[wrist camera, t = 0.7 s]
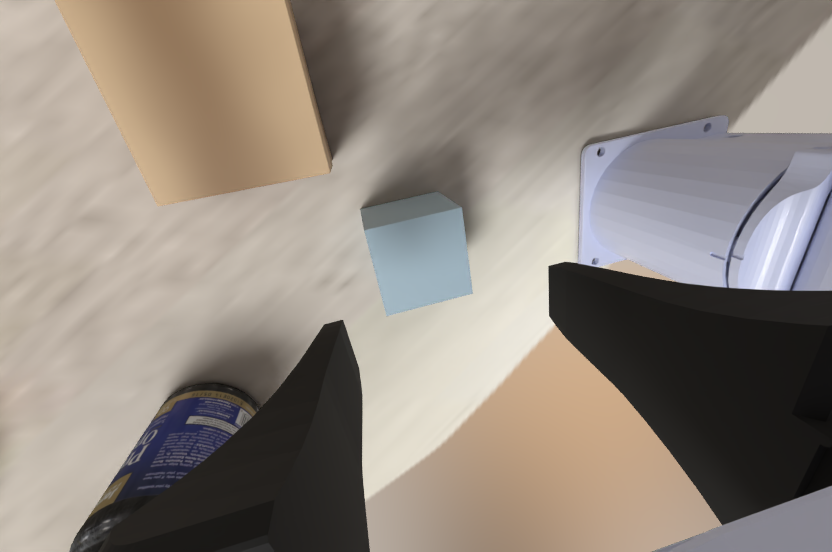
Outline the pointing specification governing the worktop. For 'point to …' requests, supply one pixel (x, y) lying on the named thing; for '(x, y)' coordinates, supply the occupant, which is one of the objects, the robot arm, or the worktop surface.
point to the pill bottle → (167, 454)
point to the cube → (418, 251)
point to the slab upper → (204, 91)
